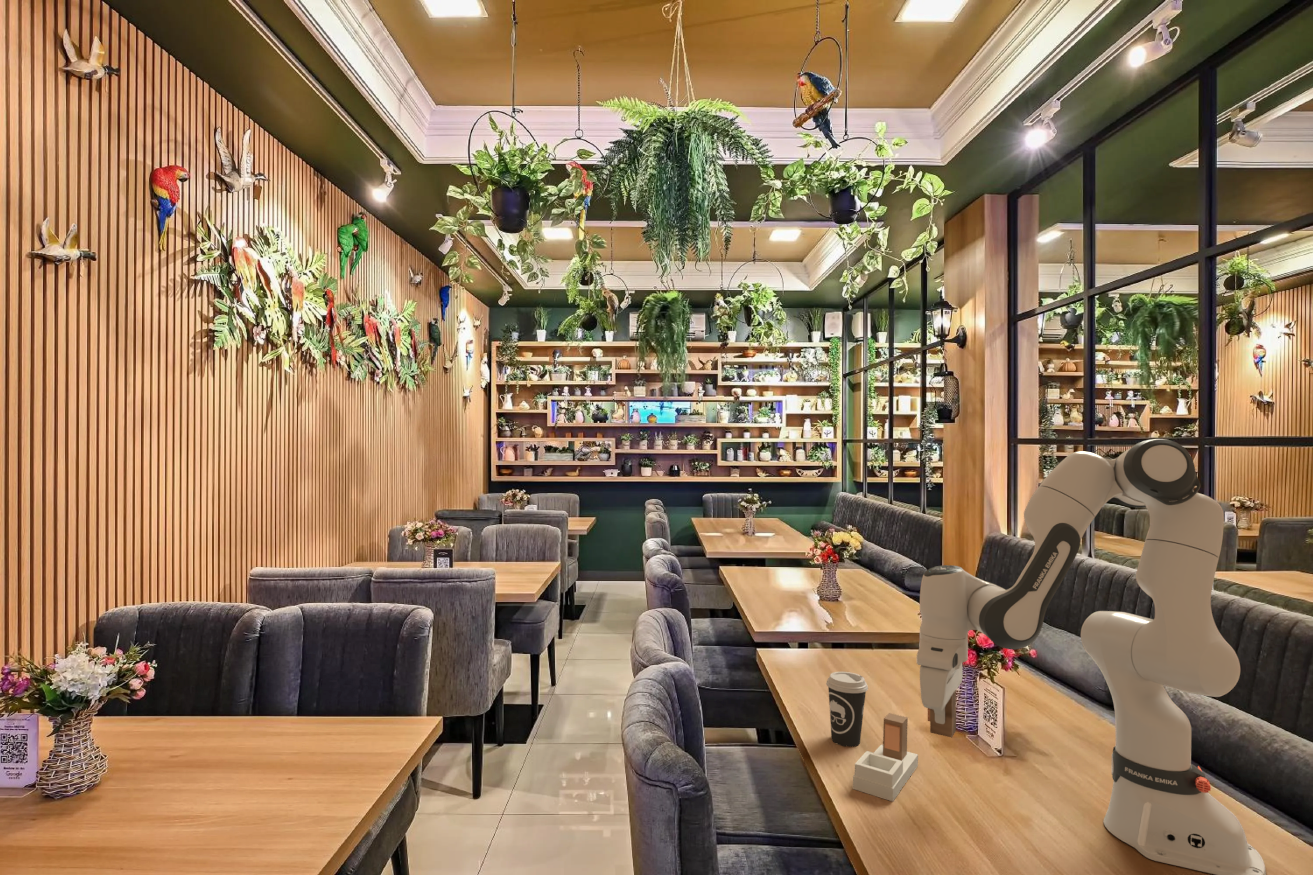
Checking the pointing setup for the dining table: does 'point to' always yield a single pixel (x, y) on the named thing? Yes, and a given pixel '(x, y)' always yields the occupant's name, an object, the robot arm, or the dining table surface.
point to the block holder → (886, 762)
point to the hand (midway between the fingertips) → (943, 717)
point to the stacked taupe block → (950, 723)
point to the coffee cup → (846, 707)
